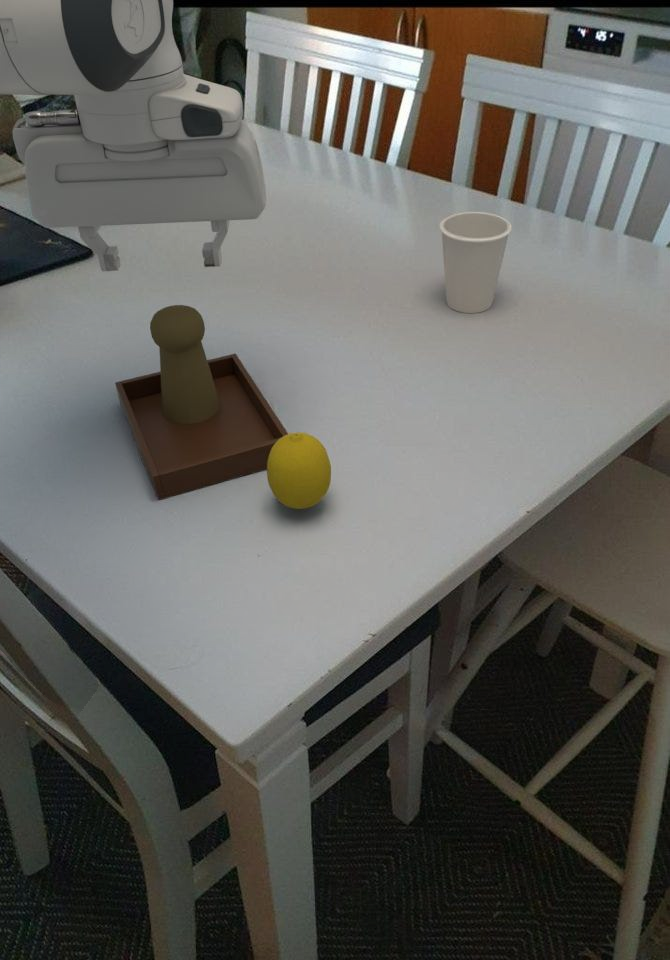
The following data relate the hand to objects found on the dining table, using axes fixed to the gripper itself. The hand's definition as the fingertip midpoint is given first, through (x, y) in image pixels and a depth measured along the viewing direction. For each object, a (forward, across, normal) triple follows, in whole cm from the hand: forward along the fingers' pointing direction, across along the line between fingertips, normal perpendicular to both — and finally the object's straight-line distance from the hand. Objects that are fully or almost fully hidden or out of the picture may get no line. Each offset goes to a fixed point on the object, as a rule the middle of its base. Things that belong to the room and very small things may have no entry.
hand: (162, 266), depth 75 cm
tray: (+16, +2, -4) cm, 17 cm away
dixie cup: (+16, +33, +21) cm, 42 cm away
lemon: (+16, +12, -16) cm, 26 cm away
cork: (+16, 0, 0) cm, 16 cm away
